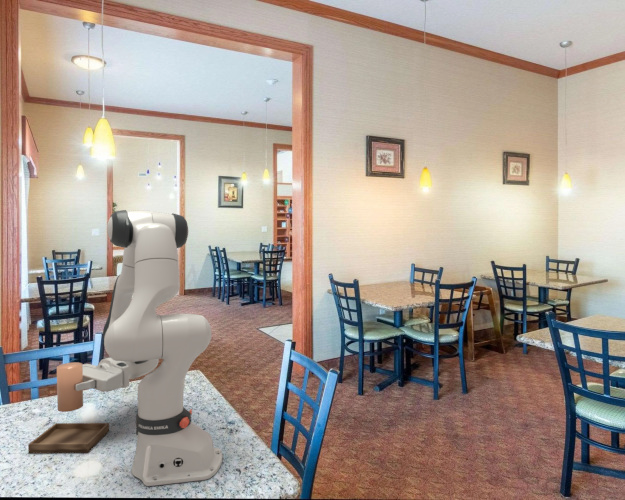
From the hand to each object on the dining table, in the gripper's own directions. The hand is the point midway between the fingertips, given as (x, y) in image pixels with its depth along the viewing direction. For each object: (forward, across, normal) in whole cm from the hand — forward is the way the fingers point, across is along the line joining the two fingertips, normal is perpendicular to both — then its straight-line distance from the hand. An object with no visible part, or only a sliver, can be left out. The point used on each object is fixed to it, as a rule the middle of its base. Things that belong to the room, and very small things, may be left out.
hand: (67, 385), depth 122 cm
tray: (-1, 0, +17) cm, 17 cm away
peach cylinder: (-1, 0, +7) cm, 7 cm away
